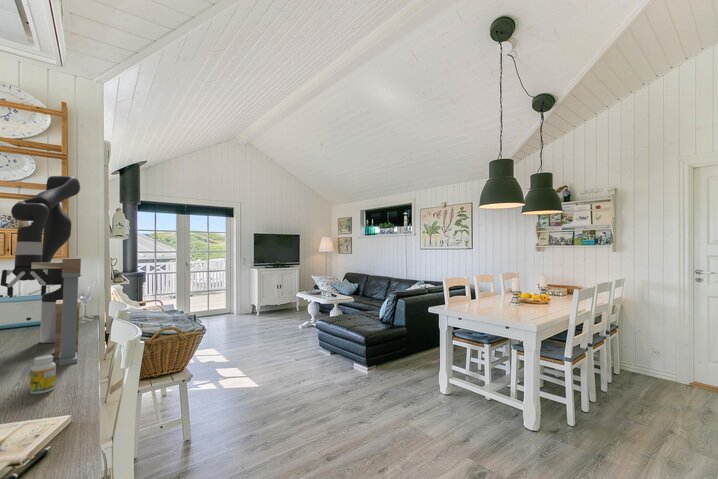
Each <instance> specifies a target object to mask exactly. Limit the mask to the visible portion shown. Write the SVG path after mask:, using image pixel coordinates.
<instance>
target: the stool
mask: <svg viewBox="0 0 718 479" xmlns="http://www.w3.org/2000/svg"><path fill="white" fill-rule="evenodd" d="M80 308H81V299H80V298H78V299H77V326H76V352H77V356H78V354H79V353H78V352H79V329H80V328H79V327H80ZM62 309H63V300H56V330H55V342H54V355H53V359H57V358H58V359H59V354H61V329H62Z"/></svg>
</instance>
